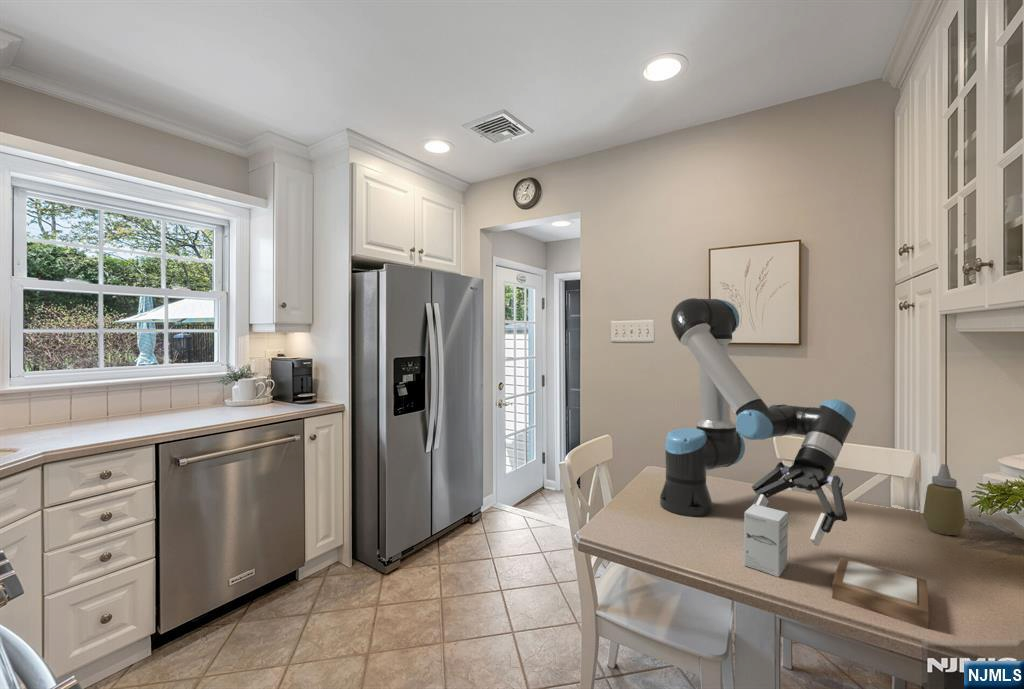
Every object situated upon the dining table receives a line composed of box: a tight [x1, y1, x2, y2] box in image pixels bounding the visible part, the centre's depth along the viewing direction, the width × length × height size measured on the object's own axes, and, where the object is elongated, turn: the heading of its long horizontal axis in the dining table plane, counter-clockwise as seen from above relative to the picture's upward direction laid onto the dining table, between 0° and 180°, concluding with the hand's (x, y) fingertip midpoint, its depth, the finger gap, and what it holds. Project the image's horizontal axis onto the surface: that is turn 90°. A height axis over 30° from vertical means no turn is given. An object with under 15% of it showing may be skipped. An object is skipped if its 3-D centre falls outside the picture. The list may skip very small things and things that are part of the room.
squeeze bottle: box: [922, 463, 966, 536], centre depth 117 cm, size 8×8×18 cm
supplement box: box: [743, 503, 789, 578], centre depth 101 cm, size 7×7×13 cm
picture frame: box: [831, 556, 930, 629], centre depth 89 cm, size 14×14×3 cm
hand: (782, 530), depth 100 cm, fingers open, 13 cm apart
